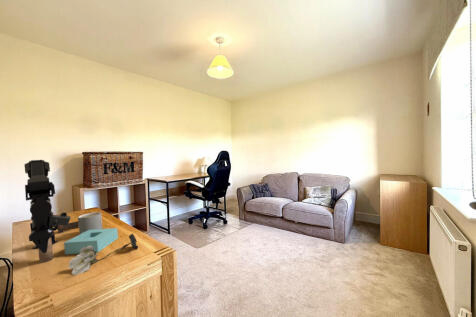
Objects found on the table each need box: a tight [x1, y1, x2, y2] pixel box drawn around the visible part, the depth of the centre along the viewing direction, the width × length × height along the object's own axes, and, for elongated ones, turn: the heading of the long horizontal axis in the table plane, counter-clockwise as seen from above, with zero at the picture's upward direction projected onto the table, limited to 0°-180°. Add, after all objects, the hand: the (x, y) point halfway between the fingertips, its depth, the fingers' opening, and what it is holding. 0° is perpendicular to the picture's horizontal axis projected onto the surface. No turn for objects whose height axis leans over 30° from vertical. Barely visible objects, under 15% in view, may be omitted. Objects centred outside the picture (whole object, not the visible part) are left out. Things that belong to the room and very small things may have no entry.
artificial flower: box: [68, 233, 139, 276], centre depth 78 cm, size 9×22×10 cm, turn 136°
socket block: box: [63, 227, 119, 255], centre depth 92 cm, size 14×14×5 cm
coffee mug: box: [77, 211, 103, 235], centre depth 109 cm, size 13×10×10 cm
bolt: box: [57, 220, 79, 234], centre depth 118 cm, size 6×5×15 cm
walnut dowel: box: [37, 237, 54, 264], centre depth 81 cm, size 4×4×10 cm
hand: (45, 250), depth 81 cm, fingers open, 5 cm apart
